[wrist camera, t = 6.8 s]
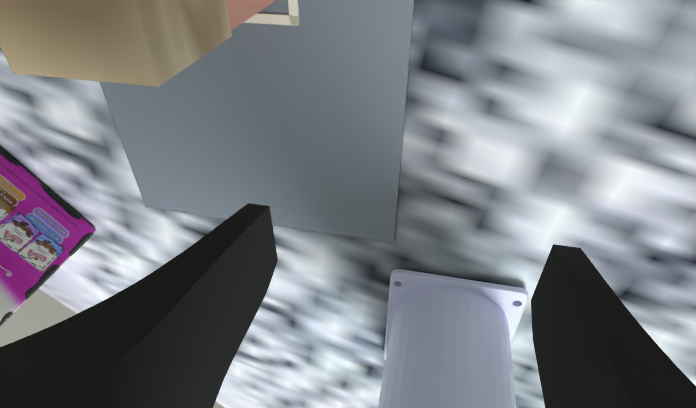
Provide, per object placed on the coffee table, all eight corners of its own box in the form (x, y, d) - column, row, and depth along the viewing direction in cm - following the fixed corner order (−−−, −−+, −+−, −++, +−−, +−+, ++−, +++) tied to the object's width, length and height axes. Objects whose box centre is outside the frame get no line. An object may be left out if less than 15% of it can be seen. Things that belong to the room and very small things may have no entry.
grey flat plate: (394, 240, 25) (393, 244, 25) (147, 205, 28) (145, 208, 28) (435, -256, 13) (435, -259, 13) (-12, -232, 16) (-19, -233, 15)
